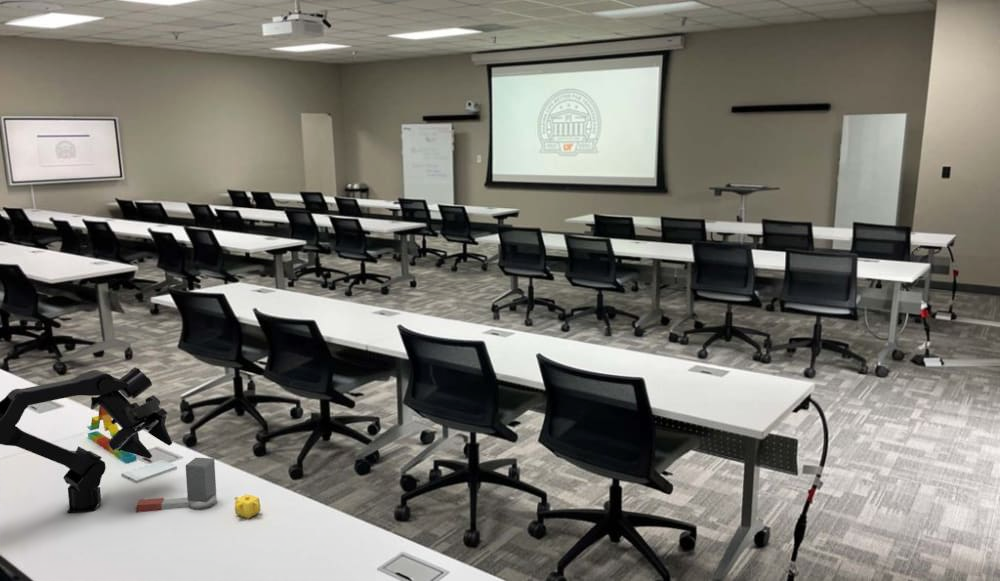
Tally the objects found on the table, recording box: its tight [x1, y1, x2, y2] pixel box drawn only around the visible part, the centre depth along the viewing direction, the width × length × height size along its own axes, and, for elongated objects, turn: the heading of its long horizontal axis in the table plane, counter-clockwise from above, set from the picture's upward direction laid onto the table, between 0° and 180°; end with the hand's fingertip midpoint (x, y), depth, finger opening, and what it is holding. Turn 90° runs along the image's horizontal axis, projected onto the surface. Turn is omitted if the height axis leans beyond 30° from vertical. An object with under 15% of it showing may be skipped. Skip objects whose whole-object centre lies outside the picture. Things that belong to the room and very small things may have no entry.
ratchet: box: [135, 493, 218, 513], centre depth 193 cm, size 20×7×4 cm, turn 102°
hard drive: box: [120, 459, 178, 484], centre depth 214 cm, size 2×8×12 cm
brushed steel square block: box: [185, 457, 217, 502], centre depth 194 cm, size 5×5×10 cm
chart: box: [87, 405, 138, 464], centre depth 230 cm, size 30×3×15 cm, turn 49°
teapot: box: [234, 493, 261, 520], centre depth 189 cm, size 8×6×5 cm
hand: (161, 450), depth 196 cm, fingers open, 9 cm apart
